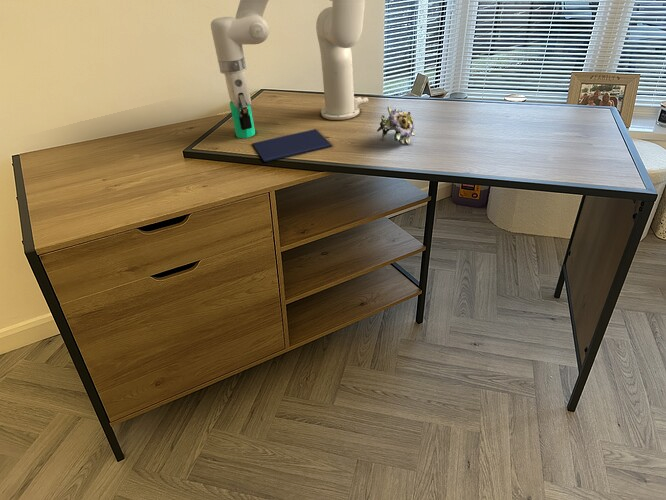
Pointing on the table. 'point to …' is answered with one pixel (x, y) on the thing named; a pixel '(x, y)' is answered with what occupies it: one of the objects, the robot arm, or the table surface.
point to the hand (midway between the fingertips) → (243, 124)
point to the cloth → (291, 145)
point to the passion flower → (398, 125)
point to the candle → (235, 116)
